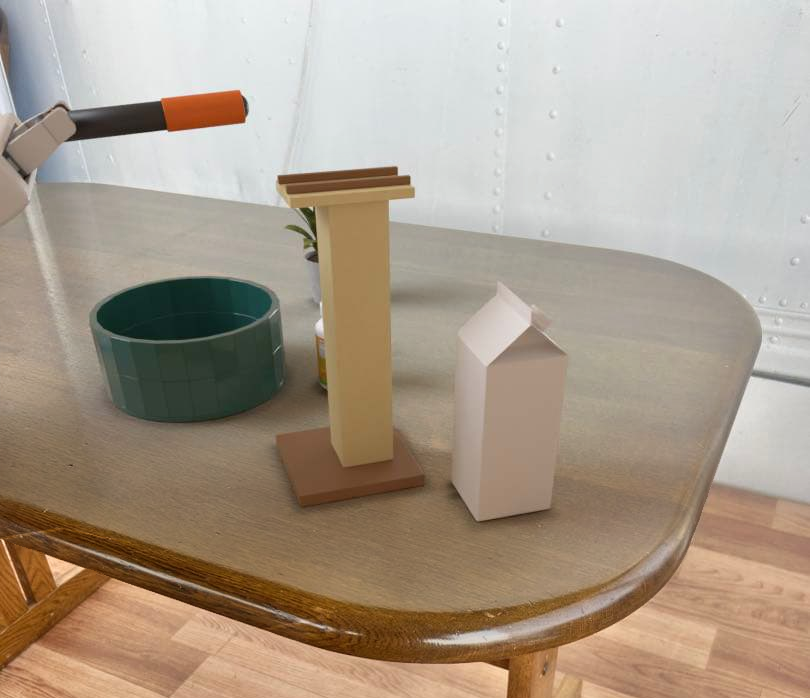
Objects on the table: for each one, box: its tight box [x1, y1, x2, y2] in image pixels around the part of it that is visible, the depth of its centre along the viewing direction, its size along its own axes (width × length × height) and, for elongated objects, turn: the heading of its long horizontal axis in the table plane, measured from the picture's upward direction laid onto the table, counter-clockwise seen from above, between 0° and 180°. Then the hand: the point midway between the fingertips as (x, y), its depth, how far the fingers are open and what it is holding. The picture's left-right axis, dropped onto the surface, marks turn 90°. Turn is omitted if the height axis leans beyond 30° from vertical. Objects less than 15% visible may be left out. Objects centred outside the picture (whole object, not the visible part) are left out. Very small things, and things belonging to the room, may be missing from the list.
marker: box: [33, 89, 250, 143], centre depth 61 cm, size 16×2×2 cm, turn 108°
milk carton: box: [451, 281, 569, 522], centre depth 70 cm, size 7×7×19 cm
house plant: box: [283, 207, 321, 306], centre depth 111 cm, size 14×14×16 cm
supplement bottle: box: [314, 301, 328, 391], centre depth 92 cm, size 5×5×10 cm
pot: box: [88, 275, 287, 423], centre depth 93 cm, size 21×21×9 cm
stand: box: [275, 165, 425, 508], centre depth 72 cm, size 12×12×27 cm
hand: (70, 113), depth 60 cm, fingers closed on marker, 2 cm apart
